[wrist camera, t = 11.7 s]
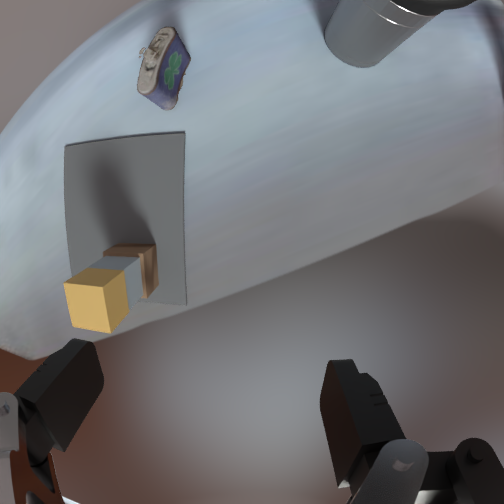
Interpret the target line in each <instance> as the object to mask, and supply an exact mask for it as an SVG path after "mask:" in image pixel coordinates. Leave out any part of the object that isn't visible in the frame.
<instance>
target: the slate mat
mask: <svg viewBox="0 0 504 504" xmlns="http://www.w3.org/2000/svg"><path fill="white" fill-rule="evenodd" d="M184 161H185V133H180V134H163V135H150V136H138V137H128V138H120V139H111V140H104V141H97V142H90V143H84V144H78V145H72V146H67V147H65V150H64V201H65V219H66V231H67V242H68V251H69V259H70V266H71V273H72V277H73V276H75V275H77V274H78V273H80V272H81V271H83V270H85V269H86V268H87V267H88V266H90V265H92V264H93V263H95V262H97V261H98V260H100V259H102V258H103V251H105V250H107V249H109V248H111V247H113V246H114V245H116V244H118V243H136V244H156V247H157V264H158V278H159V285H158V286H157V288H156V289H155V290H154V291H153V292H152V293H151V295H150V296H149V297H148V298H140V299H139V300H138V301H139V302H150V303H162V304H175V305H187V294H186V274H185V245H184Z"/></svg>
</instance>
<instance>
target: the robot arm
mask: <svg viewBox="0 0 504 504" xmlns="http://www.w3.org/2000/svg"><path fill="white" fill-rule="evenodd" d="M474 1H476V0H340V1H339V3H338V5H337V7H336V9H335V11H334V13H333V15H332V16H331V18H330V20H329V22H328V24H327V27H326V29H325V41H326V44H327V46H328V47H329V49H330V50H331V52H332V53H333V54H334V55H335V56H336V57H337V58H339V59H340V60H342V61H343V62H345V63H347V64H349V65H352V66H355V67H361V68H366V67H371V66H374V65H376V64H377V63H379V62H380V61H381V60H382V59H383V58H385V57H386V56H387V55H388V54H390V53H391V52H392V51H393V50H394V49H396V48H397V47H398V46H399V45H400V44H402V43H403V42H404V41H405V40H406V39H408V38H409V37H410V36H411V35H413V34H414V33H415V32H416V31H418V30H419V29H420V28H421V27H423V26H424V25H425V24H426V23H428V22H429V21H430V20H431V19H433V18H434V17H435V16H437V15H438V14H440V13H441V12H442V11H444V10H448V9H457V8H462V7H464V6H467V5H469V4H471V3H472V2H474ZM103 386H104V376H103V373H102V369H101V366H100V363H99V360H98V355H97V352H96V348H95V346H94V344H93V343H92V342H90V341H85V340H80V339H75V338H74V339H72V340H70V341H69V342H68V343H67V344H66V345H65V346H64V347H63V349H60V350H58V351H57V352H55V353H53V354H51V355H50V356H49V357H48V358H47V359H46V360H45V361H44V362H43V365H40V366H39V367H38V368H37V371H35V372H34V373H33V374H32V375H31V376H30V377H29V378H28V379H27V380H26V381H25V382H24V383H23V384H22V385H21V387H20V388H19V389H18V390H17V391H16V392H15V393H14V394H13V395H12V394H10V393H6V392H2V393H0V504H65V502H64V500H63V498H62V495H61V491H60V488H59V484H58V480H57V476H56V472H55V467H54V462H53V457H52V455H51V453H50V450H51V449H52V447H54V448H56V449H58V450H60V451H63V452H65V451H66V449H67V447H68V446H69V444H70V442H71V440H72V439H73V437H74V435H75V433H76V432H77V430H78V429H79V427H80V425H81V424H82V422H83V420H84V419H85V417H86V416H87V414H88V412H89V411H90V409H91V407H92V406H93V404H94V403H95V401H96V400H97V398H98V396H99V394H100V393H101V391H102V389H103ZM320 411H321V416H322V420H323V424H324V428H325V432H326V437H327V441H328V445H329V450H330V454H331V459H332V463H333V467H334V472H335V477H336V481H337V486H338V488H342V487H348V486H350V490H351V494H352V495H351V496H350V498H349V499H348V501H347V502H346V504H504V468H503V466H502V465H501V463H500V461H499V459H498V457H497V456H496V454H495V452H494V450H493V449H492V447H491V446H490V445H489V444H488V443H487V442H486V441H484V440H482V439H478V438H469V439H466V440H464V441H462V442H461V443H460V444H459V445H458V446H457V448H456V449H455V450H454V451H446V452H427V451H426V450H425V448H424V447H423V446H422V445H420V444H419V443H417V442H415V441H412V440H408V439H406V438H405V436H404V433H403V432H402V430H401V427H400V425H399V423H398V421H397V419H396V417H395V415H394V413H393V411H392V409H391V407H390V405H389V404H388V402H387V399H386V397H385V395H383V392H382V390H381V388H380V386H379V384H378V382H377V381H376V380H375V379H373V378H372V377H371V376H370V375H369V374H368V373H359V372H358V369H357V368H356V365H355V363H354V361H353V360H352V359H347V360H330V361H329V362H328V364H327V368H326V373H325V377H324V382H323V386H322V390H321V395H320Z"/></svg>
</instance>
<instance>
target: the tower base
mask: <svg viewBox="0 0 504 504" xmlns="http://www.w3.org/2000/svg"><path fill="white" fill-rule="evenodd" d="M105 256H120V257H140V265H141V276H142V287H143V296H142V297H141V298H148V297H149V296H150V295H151V293H152V292H153V291H154V290H155V289H156V288H157V286H158V285H159V278H158V264H157V247H156V244H136V243H118V244H116V245H114V246H113V247H111V248H109V249H107V250H105V251H103V257H105Z"/></svg>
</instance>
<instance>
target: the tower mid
mask: <svg viewBox="0 0 504 504" xmlns="http://www.w3.org/2000/svg"><path fill="white" fill-rule="evenodd" d="M87 268H98V269H112V270H124V274H125V283H126V291H127V299H128V306H129V310H130V309H131V308H132V307H133V306H134V305H135V304H136V302H137V301H138V300H139V299H140V298H141V297H142V296H143V287H142V276H141V265H140V257H120V256H105V257H103V258H102V259H100V260H98V261H97V262H95V263H93V264H92V265H90V266H88V267H87Z"/></svg>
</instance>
